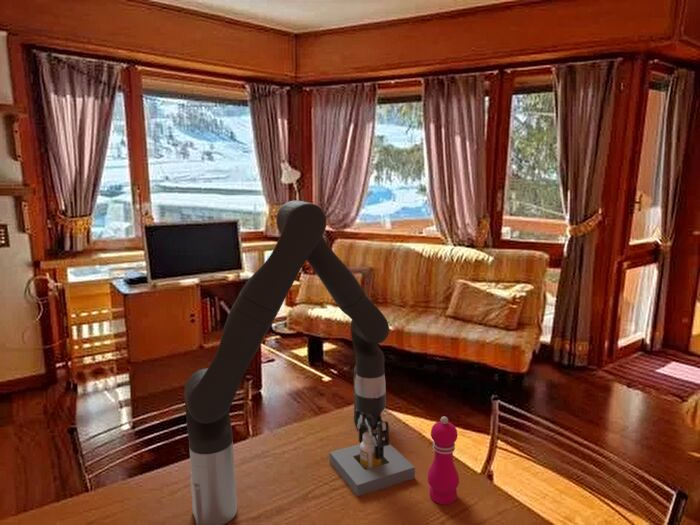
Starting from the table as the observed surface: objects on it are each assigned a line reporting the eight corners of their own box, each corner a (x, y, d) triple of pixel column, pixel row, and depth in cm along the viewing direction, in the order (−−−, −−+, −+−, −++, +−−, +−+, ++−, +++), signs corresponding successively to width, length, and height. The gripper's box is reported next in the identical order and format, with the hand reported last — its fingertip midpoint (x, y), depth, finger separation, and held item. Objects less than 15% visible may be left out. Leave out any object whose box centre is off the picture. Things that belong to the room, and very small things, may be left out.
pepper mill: (435, 508, 115) (436, 426, 111) (422, 489, 122) (423, 411, 118) (464, 502, 117) (466, 421, 113) (450, 484, 123) (451, 407, 120)
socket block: (357, 496, 119) (357, 485, 119) (329, 462, 134) (329, 452, 133) (414, 478, 126) (414, 467, 126) (382, 447, 140) (382, 437, 140)
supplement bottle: (381, 464, 132) (381, 430, 131) (380, 476, 127) (380, 440, 125) (361, 463, 133) (360, 429, 131) (359, 475, 128) (358, 440, 126)
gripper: (344, 382, 131) (345, 440, 134) (370, 404, 118) (371, 468, 121) (370, 377, 134) (370, 434, 137) (398, 398, 121) (398, 460, 124)
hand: (370, 450), depth 129 cm, fingers open, 8 cm apart
